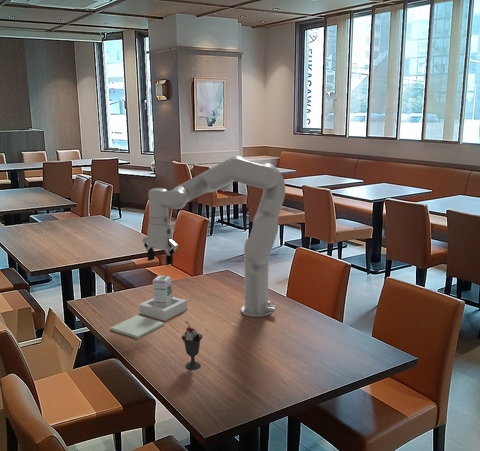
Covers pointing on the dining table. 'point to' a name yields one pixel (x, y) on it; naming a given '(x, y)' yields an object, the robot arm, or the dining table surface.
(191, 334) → the sundae
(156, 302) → the syrup box
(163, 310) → the holder
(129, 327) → the mat
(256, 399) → the dining table surface
